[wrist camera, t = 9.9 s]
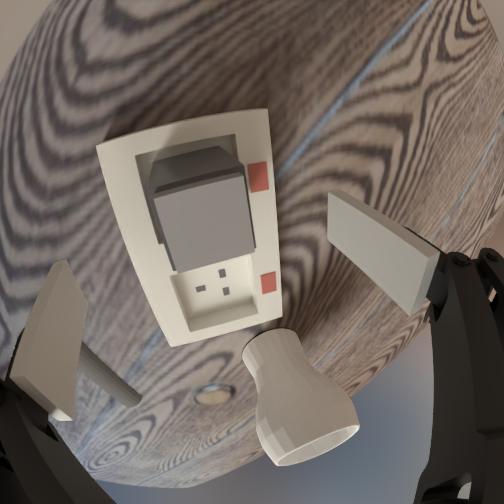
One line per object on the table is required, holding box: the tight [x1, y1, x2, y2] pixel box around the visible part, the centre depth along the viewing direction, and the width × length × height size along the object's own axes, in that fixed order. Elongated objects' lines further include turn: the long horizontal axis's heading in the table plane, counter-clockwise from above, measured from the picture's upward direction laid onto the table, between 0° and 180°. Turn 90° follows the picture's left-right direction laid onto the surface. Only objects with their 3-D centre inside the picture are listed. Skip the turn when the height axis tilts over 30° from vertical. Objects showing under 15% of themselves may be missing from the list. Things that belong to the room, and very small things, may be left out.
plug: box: [147, 145, 256, 274], centre depth 17 cm, size 5×5×8 cm
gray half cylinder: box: [78, 342, 142, 407], centre depth 26 cm, size 4×20×2 cm, turn 15°
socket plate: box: [96, 108, 282, 347], centre depth 22 cm, size 12×20×2 cm, turn 6°
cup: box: [242, 328, 360, 466], centre depth 28 cm, size 11×11×15 cm
